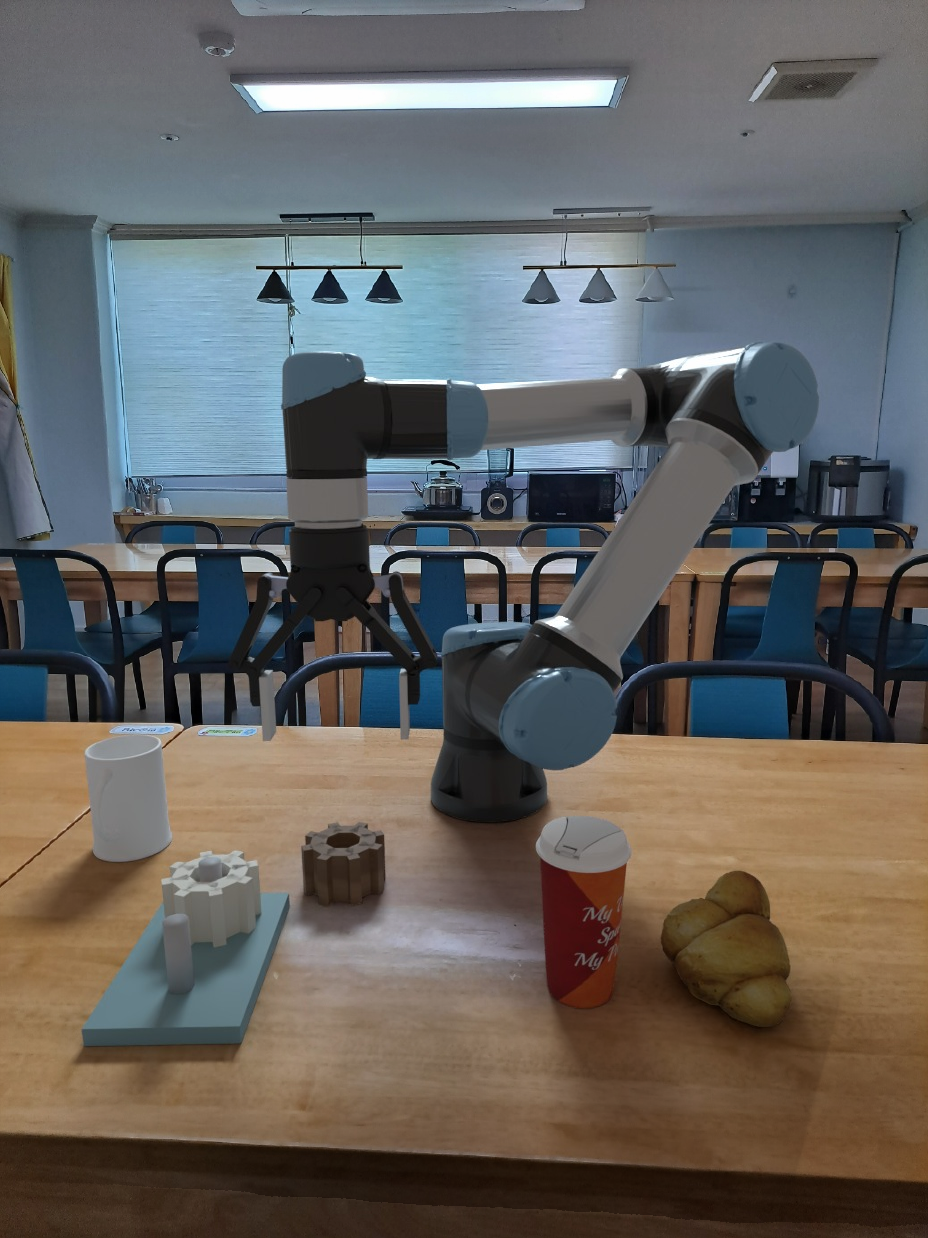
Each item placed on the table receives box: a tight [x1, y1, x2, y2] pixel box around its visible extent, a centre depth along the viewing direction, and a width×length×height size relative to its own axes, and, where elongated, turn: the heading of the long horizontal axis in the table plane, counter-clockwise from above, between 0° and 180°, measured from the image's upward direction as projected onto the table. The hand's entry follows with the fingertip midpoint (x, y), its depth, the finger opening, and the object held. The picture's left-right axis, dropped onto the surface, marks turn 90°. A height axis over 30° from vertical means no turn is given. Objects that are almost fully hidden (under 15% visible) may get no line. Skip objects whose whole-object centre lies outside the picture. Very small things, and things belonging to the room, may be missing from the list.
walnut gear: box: [300, 821, 387, 907], centre depth 84 cm, size 8×8×5 cm
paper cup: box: [535, 815, 632, 1010], centre depth 67 cm, size 8×8×14 cm
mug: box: [84, 734, 173, 863], centre depth 91 cm, size 12×8×12 cm
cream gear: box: [160, 849, 262, 947], centre depth 75 cm, size 8×8×5 cm
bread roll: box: [660, 870, 793, 1028], centre depth 67 cm, size 13×10×8 cm
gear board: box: [81, 857, 291, 1047], centre depth 70 cm, size 12×19×8 cm, turn 1°
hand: (337, 736), depth 81 cm, fingers open, 13 cm apart
